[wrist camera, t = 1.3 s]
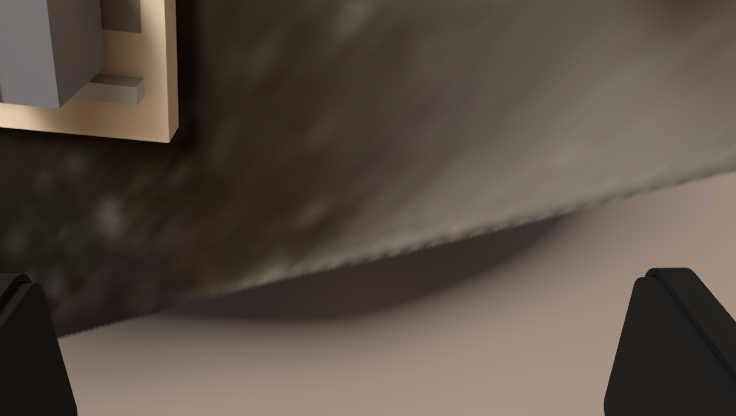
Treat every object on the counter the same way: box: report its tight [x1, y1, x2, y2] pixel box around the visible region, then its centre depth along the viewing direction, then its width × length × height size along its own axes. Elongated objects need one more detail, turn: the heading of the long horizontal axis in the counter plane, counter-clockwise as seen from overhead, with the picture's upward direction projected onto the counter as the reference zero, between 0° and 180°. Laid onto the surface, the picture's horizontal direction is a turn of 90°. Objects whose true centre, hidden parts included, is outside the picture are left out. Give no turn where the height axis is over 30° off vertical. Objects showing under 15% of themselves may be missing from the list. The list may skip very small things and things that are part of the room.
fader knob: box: [0, 0, 105, 109], centre depth 24 cm, size 5×5×5 cm
